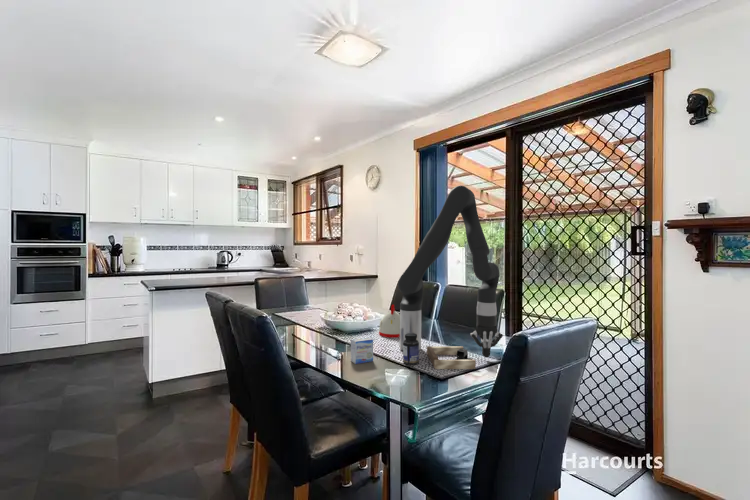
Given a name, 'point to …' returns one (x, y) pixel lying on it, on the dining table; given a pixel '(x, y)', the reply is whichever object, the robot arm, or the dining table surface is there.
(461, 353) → the black angular block
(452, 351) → the frame
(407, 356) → the pill bottle
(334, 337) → the dining table surface
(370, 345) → the medicine box
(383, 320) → the kitchen timer
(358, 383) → the dining table surface
